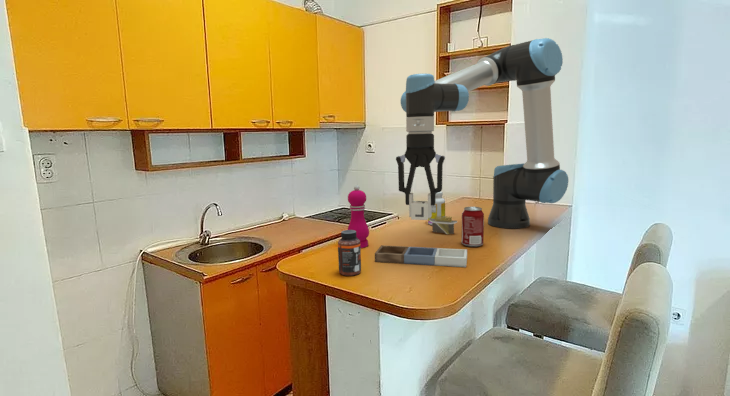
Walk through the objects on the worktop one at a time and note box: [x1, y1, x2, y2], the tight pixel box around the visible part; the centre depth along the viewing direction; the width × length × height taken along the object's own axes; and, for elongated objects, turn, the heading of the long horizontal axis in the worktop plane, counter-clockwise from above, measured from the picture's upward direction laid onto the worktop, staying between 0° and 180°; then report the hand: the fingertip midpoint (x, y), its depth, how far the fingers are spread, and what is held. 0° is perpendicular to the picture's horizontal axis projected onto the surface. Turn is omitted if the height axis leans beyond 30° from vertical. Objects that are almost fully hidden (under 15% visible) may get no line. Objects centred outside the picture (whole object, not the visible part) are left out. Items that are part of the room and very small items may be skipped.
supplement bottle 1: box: [337, 229, 362, 277], centre depth 107 cm, size 6×6×11 cm
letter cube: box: [410, 200, 428, 221], centre depth 114 cm, size 4×5×5 cm
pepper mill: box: [347, 184, 370, 249], centre depth 131 cm, size 7×7×20 cm
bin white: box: [434, 247, 468, 268], centre depth 114 cm, size 8×8×2 cm
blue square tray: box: [403, 246, 438, 266], centre depth 116 cm, size 8×8×2 cm
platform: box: [430, 215, 458, 235], centre depth 145 cm, size 12×18×7 cm, turn 62°
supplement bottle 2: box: [427, 191, 446, 226], centre depth 158 cm, size 7×7×13 cm
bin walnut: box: [374, 245, 409, 265], centre depth 119 cm, size 8×8×2 cm
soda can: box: [461, 206, 485, 248], centre depth 129 cm, size 7×7×12 cm
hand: (420, 216), depth 115 cm, fingers closed on letter cube, 4 cm apart
